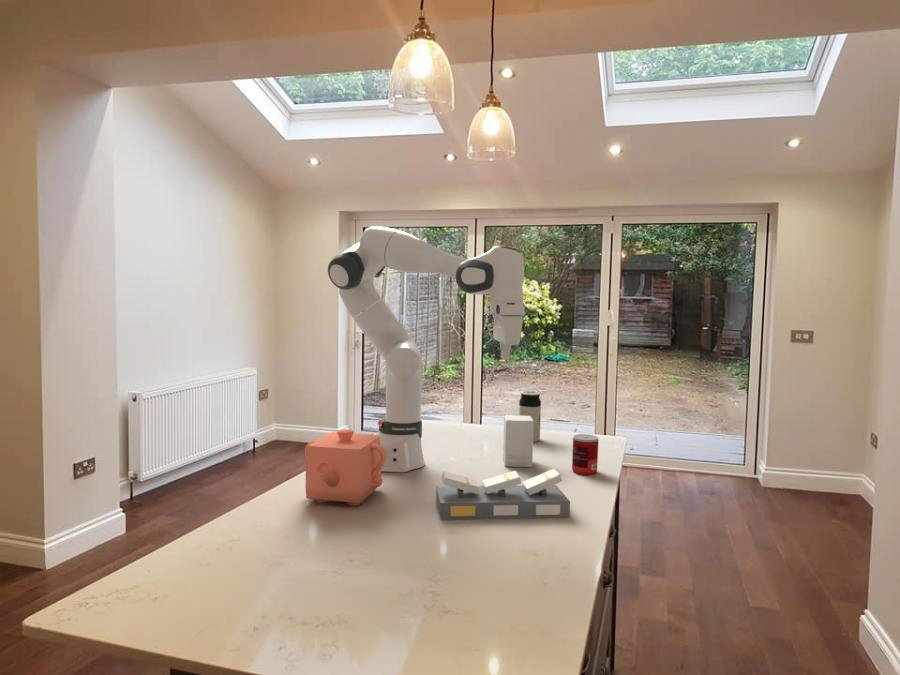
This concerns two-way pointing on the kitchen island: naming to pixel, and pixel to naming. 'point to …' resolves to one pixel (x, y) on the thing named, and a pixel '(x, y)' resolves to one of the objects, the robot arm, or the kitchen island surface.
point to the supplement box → (518, 441)
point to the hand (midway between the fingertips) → (505, 359)
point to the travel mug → (531, 410)
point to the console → (501, 503)
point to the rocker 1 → (460, 482)
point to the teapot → (343, 467)
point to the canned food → (585, 454)
